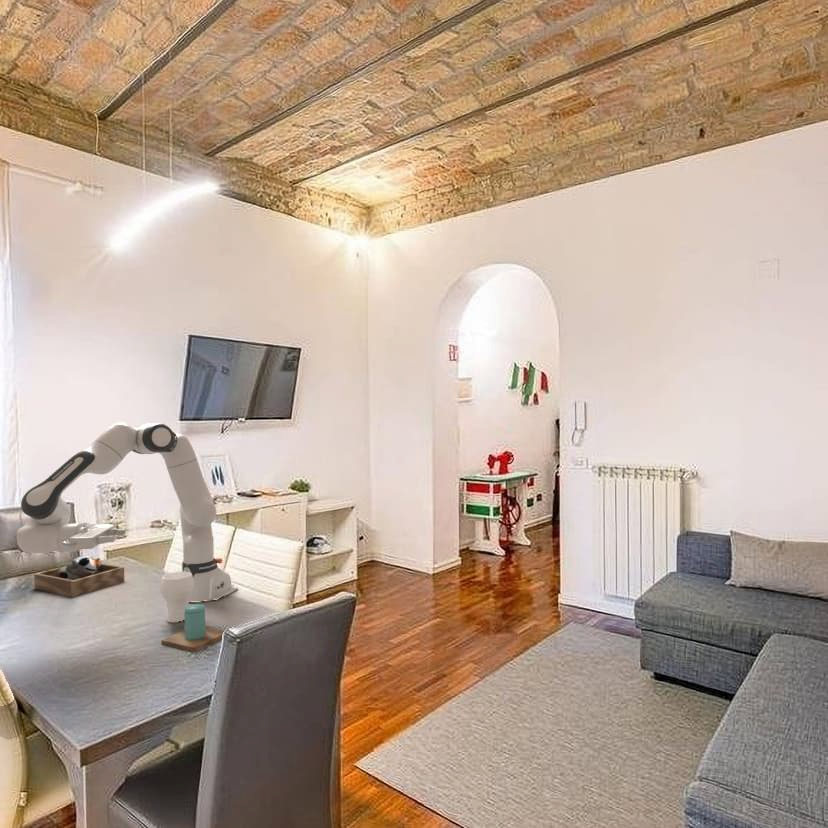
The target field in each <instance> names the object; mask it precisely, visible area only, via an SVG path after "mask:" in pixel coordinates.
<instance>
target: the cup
mask: <svg viewBox="0 0 828 828" xmlns="http://www.w3.org/2000/svg"><path fill="white" fill-rule="evenodd" d="M193 588H194V580H193V576H192V573H190V572H182V571H174V572H169V573H166V574H164V575H162V578H161V582H160V593H161V595H162V598H163V599H164V602H165V604H166V608H167V611H166V616H165V617H166V618H165V621H166V622H168V623H180V622H179V621H181V622H184V621H183V620H185V615H184V613H185V607H187V606H189V605H190V603H189V599H190V597H191V595H192V592H193Z"/></svg>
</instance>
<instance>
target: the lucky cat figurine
mask: <svg viewBox="0 0 828 828" xmlns="http://www.w3.org/2000/svg"><path fill="white" fill-rule="evenodd" d="M101 563H102V561H101V558H99V557H97V558H94V557H93V556H89V555H83V556H78V557H75V558H74V559H73V560H72V562H71V563H69V564H68V565H65V566H66V567H64V566H62V567H63V568H61V569H59V570H58V571H57V573H56V574H55V575H54V576H55V577H59V578H64V579H69V580H77V579H81V578H84V577H88V576H91V575H93V574H94V573H95V571H96V570H97V569H98V568H99V567H100V564H101Z"/></svg>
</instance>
